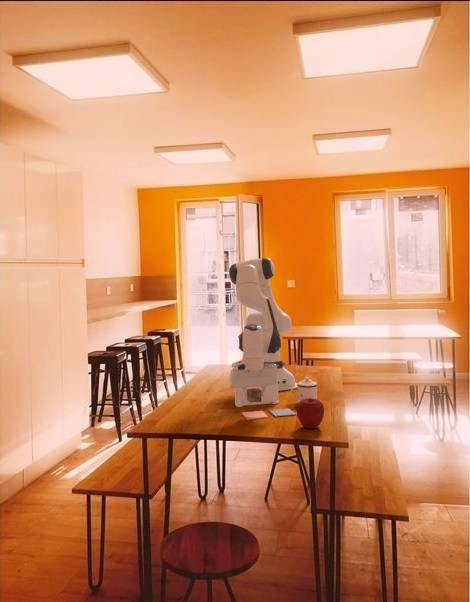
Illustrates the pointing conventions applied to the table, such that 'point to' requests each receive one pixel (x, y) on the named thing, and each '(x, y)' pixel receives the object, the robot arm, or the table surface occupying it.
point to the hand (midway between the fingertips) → (253, 396)
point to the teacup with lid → (306, 390)
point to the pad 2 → (282, 412)
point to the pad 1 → (254, 415)
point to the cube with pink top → (254, 394)
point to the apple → (310, 412)
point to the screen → (268, 397)
